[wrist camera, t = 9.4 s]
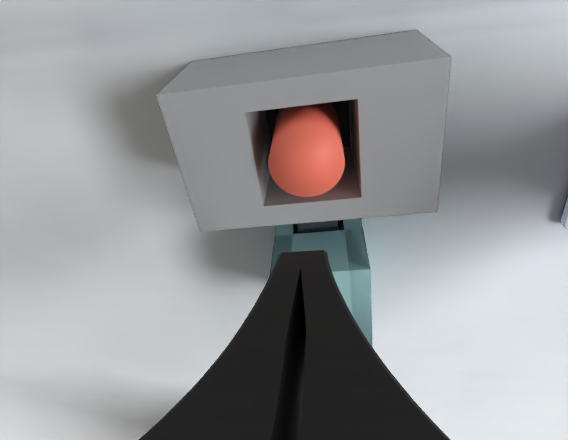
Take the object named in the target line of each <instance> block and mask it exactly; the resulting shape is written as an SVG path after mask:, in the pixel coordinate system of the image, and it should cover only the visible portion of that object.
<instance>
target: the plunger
mask: <svg viewBox="0 0 568 440" xmlns="http://www.w3.org/2000/svg"><path fill="white" fill-rule="evenodd" d="M268 165H269V171H270V174H271V176H272V178H273V180H274V181H275V183H276V184H277V185H278V186H279V187H280V188H281V189H283V190H284V191H286V192H287V193H290V194H292V195H295V196H300V197H313V196H318V195H321V194H323V193H325V192H327V191H329V190H330V189H332V188H333V187H334V186H335V185H336V184H337V183H338V181H339V180H340V178H341V176H342V174H343V171H344V167H345V158H344V152H343V145H342V139H341V133H340V127H339V121H338V115H337V112H336V110H335V108H334V106H333V105H332V104H331V103H330V102H328V103H320V104H312V105H303V106H295V107H287V108H280V110H279V112H278V115H277V119H276V124H275V129H274V134H273V139H272V144H271V149H270V154H269V160H268Z"/></svg>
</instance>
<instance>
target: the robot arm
mask: <svg viewBox="0 0 568 440" xmlns="http://www.w3.org/2000/svg"><path fill="white" fill-rule="evenodd" d="M561 224H562V225H563V226H564V227H565V228H566V229H568V198H567V202H566V205H565V208H564V211H563V215H562V218H561ZM139 440H450V439H449V438H448V437H447V436H446V435H445V434H444V433H443V432H442V431H441V430H440V429H439V428H438V426H437V425H436V424H435V423H434V422H433V421H432V420H431V419H430V418H429V417H428V416H427V415H426V414H425V412H424V411H423V410H422V409H421V408H420V407H419V406H418V405H417V404H416V403H415V401H414V400H413V399H412V398H411V397H410V395H409V394H408V393H407V392H406V391H405V389H404V388H403V387H402V386H401V385H400V383H399V382H398V381H397V380H396V378H395V377H394V376H393V375H392V374H391V372H390V371H389V370H388V368H387V367H386V366H385V364H384V363H383V362H382V360H381V359H380V358H379V356H378V355H377V353H376V352H375V351H374V349H373V348H372V346H371V345H370V343H369V342H368V340H367V339H366V337H365V336H364V334H363V332H362V331H361V329H360V328H359V326H358V324H357V322H356V321H355V319H354V317H353V316H352V314H351V312H350V310H349V308H348V306H347V304H346V302H345V300H344V298H343V296H342V294H341V292H340V290H339V288H338V286H337V283H336V281H335V278H334V276H333V273H332V270H331V267H330V264H329V260H328V253H327V252H326V251H324V250H314V251H298V252H283V253H281V254H280V255H279V256H278V259H277V261H276V264H275V266H274V268H273V271H272V273H271V275H270V277H269V279H268V281H267V283H266V285H265V287H264V289H263V291H262V292H261V294H260V296H259V298H258V300H257V302H256V303H255V305H254V307H253V308H252V310H251V312H250V313H249V315H248V316H247V318H246V320H245V321H244V323H243V324H242V326H241V327H240V329H239V330H238V332H237V333H236V335H235V336H234V338H233V339H232V340H231V342H230V343H229V345H228V346H227V347H226V349H225V350H224V351H223V352H222V354H221V355H220V356H219V358H218V359H217V360H216V361H215V362H214V364H213V365H212V366H211V367H210V368H209V370H208V371H207V372H206V373H205V374H204V376H203V377H202V378H201V379H200V380H199V381H198V382H197V384H196V385H195V386H194V387H193V388H192V389H191V390H190V391H189V392H188V393H187V394H186V395H185V396H184V397H183V398H182V399H181V400H180V401H179V402H178V403H177V404H176V405H175V406H174V407H173V408H172V409H171V410H170V411H169V412H168V413H167V414H166V415H165V416H164V417H163V418H162V419H161V420H160V421H159V422H158V423H157V424H156V425H155V426H154V427H153V428H151V429H150V430H149V431H148V432H147V433H146V434H145V435H143V436H142V437H141V438H140V439H139Z"/></svg>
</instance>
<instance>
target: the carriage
mask: <svg viewBox="0 0 568 440" xmlns="http://www.w3.org/2000/svg"><path fill="white" fill-rule="evenodd" d="M342 221H343V230H338V231H326V232H313V233H301V234H298V231H297V224H286V225H276V231H275V239H274V247H273V255H272V263H271V271H270V275H271V273H272V271H273V268H274V266H275V264H276V261H277V259H278V256H279V255H280V254H281V253H283V252H298V251H314V250H324V251H326V252H327V253H328V260H329V264H330V267H331V270H332V273H333V276H334V278H335V281H336V283H337V286H338V288H339V290H340V292H341V294H342V296H343V298H344V300H345V302H346V304H347V306H348V308H349V310H350V312H351V314H352V316H353V317H354V319H355V321H356V322H357V324H358V326H359V328H360V329H361V331H362V332H363V334H364V336H365V337H366V339H367V340H368V342H369V343H370V345H371V346H372V316H371V276H370V265H369V259H368V254H367V249H366V243H365V238H364V232H363V227H362V222H361V218H358V219H346V220H342Z"/></svg>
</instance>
